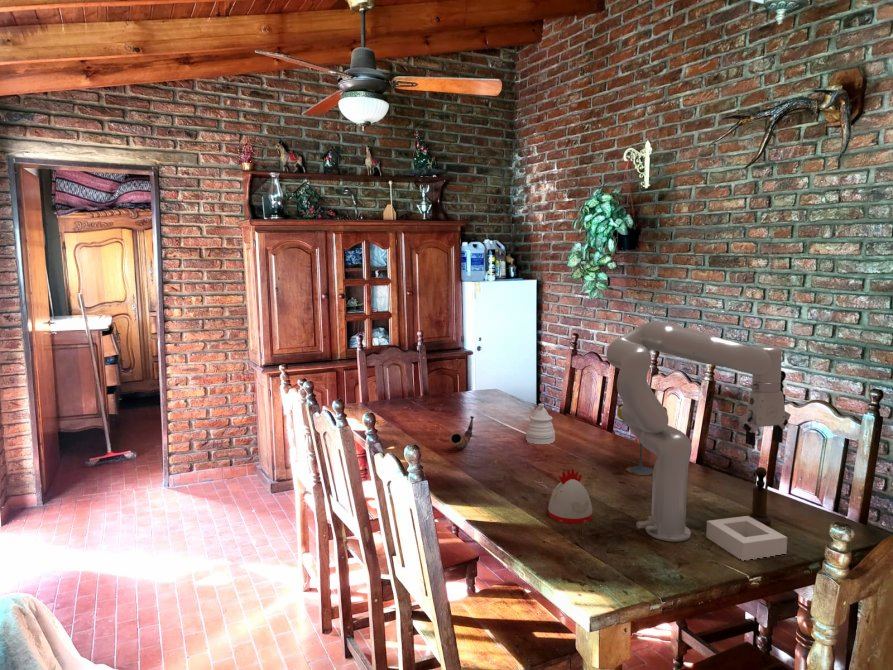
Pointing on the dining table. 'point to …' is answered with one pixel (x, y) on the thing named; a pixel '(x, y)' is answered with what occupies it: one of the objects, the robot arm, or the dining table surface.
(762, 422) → the robot arm
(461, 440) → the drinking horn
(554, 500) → the kitchen timer
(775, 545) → the socket
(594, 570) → the dining table surface
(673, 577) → the dining table surface
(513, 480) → the dining table surface
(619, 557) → the dining table surface
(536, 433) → the honey pot
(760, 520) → the pepper mill
